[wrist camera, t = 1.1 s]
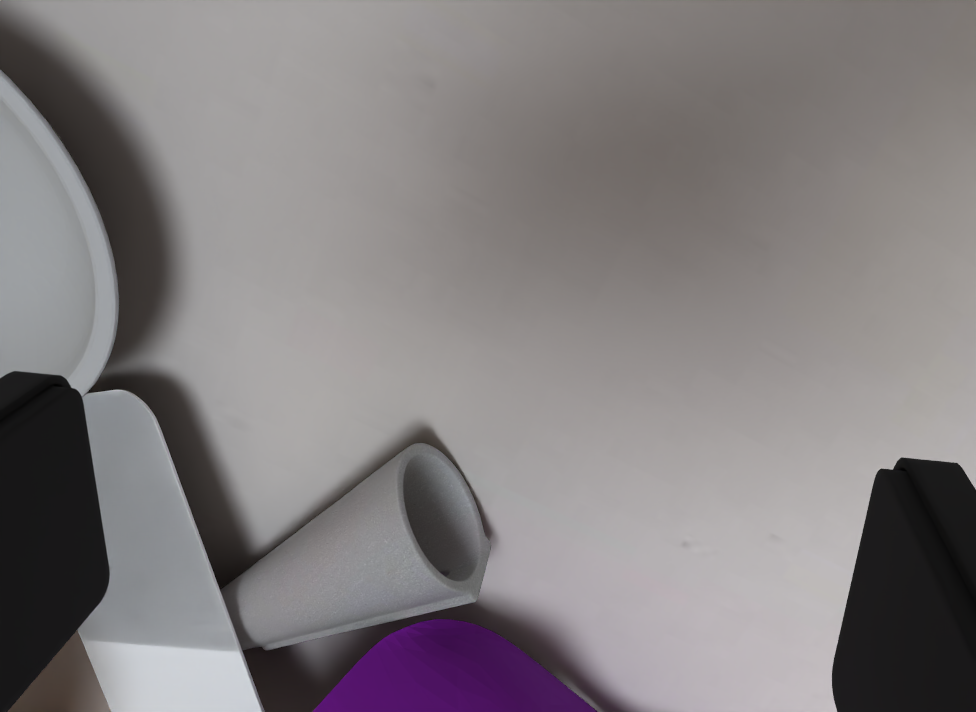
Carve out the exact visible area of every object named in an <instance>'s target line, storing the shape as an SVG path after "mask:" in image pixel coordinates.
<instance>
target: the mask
mask: <svg viewBox="0 0 976 712" xmlns="http://www.w3.org/2000/svg"><path fill="white" fill-rule="evenodd" d="M313 712H597V711H596V710H595V709H594V708H593V707H591V706H590V705H589V704H588V703H586V702H585V701H584V700H583V699H581V698H580V697H579V696H578V695H577V694H575V693H574V692H573V691H572V690H570V689H569V688H568V687H567V686H566V685H564V684H563V683H562V682H561V681H559V680H558V679H557V678H556V677H554V676H553V675H552V674H551V673H550V672H548V671H547V670H546V669H545V668H543V667H542V666H541V665H540V664H538V663H537V662H536V661H535V660H533V659H532V658H531V657H529V656H528V655H527V654H526V653H524V652H523V651H522V650H520V649H519V648H518V647H516V646H515V645H513V644H512V643H510V642H509V641H508V640H506V639H504V638H503V637H501V636H499V635H498V634H496V633H494V632H493V631H490V630H488V629H486V628H483V627H481V626H478V625H476V624H472V623H468V622H465V621H458V620H450V619H435V620H429V621H423V622H419V623H416V624H413V625H410V626H407V627H405V628H403V629H400V630H398V631H396V632H393V633H391V634H390V635H388V636H386V637H385V638H383V639H382V640H381V641H379V642H378V643H377V644H376V645H375V646H373V647H372V648H371V649H370V650H369V651H368V652H367V653H366V654H365V655H364V656H363V657H362V658H361V659H360V660H359V661H358V662H357V663H356V664H355V665H354V667H353V668H352V669H351V670H350V671H349V672H348V673H347V674H346V675H345V676H344V677H343V678H342V680H341V681H340V682H339V683H338V684H337V685H336V686H335V687H334V688H333V690H332V691H331V692H330V693H329V694H328V695H327V696H326V697H325V698H324V699H323V701H322V702H321V703H320V704H319V705H318V706H317V707H316V708H315V709H314V710H313Z"/></svg>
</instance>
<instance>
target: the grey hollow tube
mask: <svg viewBox="0 0 976 712" xmlns="http://www.w3.org/2000/svg"><path fill="white" fill-rule="evenodd" d="M490 548H491V543H490V541H489V540H488V539H487V537H486V536H485V533H484V529H483V525H482V521H481V518H480V514H479V511H478V508H477V505H476V503H475V500H474V498H473V496H472V493H471V491H470V489H469V487H468V485H467V484H466V482H465V480H464V478H463V477H462V475H461V474H460V472H459V471H458V469H457V468H456V467H455V466H454V464H453V463H452V462H451V461H450V460H449V459H448V458H447V457H446V456H445V455H444V454H443V453H442V452H440V451H439V450H438V449H436V448H434V447H433V446H430V445H428V444H424V443H416V444H412V445H410V446H409V447H407V448H406V449H404V450H403V451H402V452H400V453H399V454H398V455H397V456H395V457H394V458H393V459H391V460H390V461H389V462H387V463H386V464H385V465H383V466H382V467H381V468H379V469H378V470H377V471H375V472H374V473H373V474H371V475H370V476H369V477H367V478H366V479H365V480H364V481H362V482H361V483H360V484H359V485H357V486H356V487H355V488H354V489H352V490H351V491H350V492H349V493H347V494H346V495H345V496H343V497H342V498H341V499H340V500H338V501H337V502H336V503H334V504H333V505H332V506H330V507H329V508H328V509H326V510H325V511H323V512H322V513H321V514H319V515H318V516H317V517H315V518H314V519H313V520H312V521H310V522H309V523H308V524H306V525H305V526H304V527H302V528H301V529H300V530H299V531H297V532H296V533H295V534H293V535H292V536H291V537H289V538H288V539H287V540H286V541H284V542H283V543H282V544H280V545H279V546H278V547H276V548H275V549H274V550H272V551H271V552H270V553H268V554H267V555H266V556H265V557H263V558H262V559H261V560H259V561H258V562H257V563H255V564H254V565H253V566H251V567H250V568H249V569H247V570H246V571H245V572H244V573H242V574H241V575H240V576H238V577H237V578H236V579H234V580H233V581H232V582H230V583H229V584H228V585H226V586H225V587H224V588H222V589H221V590H220V592H221V594H222V597H223V600H224V603H225V605H226V608H227V611H228V614H229V616H230V619H231V622H232V624H233V627H234V630H235V633H236V635H237V638H238V641H239V644H240V646H241V649H242V650H246V649H250V648H254V647H260V646H261V647H263V648H264V649H265V650H270V649H275V648H279V647H283V646H288V645H292V644H296V643H301V642H305V641H309V640H313V639H318V638H322V637H326V636H331V635H335V634H339V633H344V632H348V631H352V630H357V629H361V628H365V627H370V626H374V625H378V624H382V623H387V622H391V621H395V620H400V619H404V618H408V617H413V616H417V615H421V614H426V613H430V612H434V611H439V610H443V609H447V608H452V607H456V606H460V605H465V604H469V603H473V602H476V600H477V598H478V595H479V592H480V588H481V584H482V581H483V577H484V573H485V569H486V565H487V561H488V557H489V553H490Z"/></svg>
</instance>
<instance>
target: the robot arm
mask: <svg viewBox="0 0 976 712" xmlns="http://www.w3.org/2000/svg"><path fill="white" fill-rule="evenodd" d="M109 578H110V570H109V563H108V556H107V550H106V544H105V537H104V531H103V525H102V518H101V512H100V505H99V499H98V493H97V486H96V480H95V474H94V467H93V461H92V454H91V448H90V442H89V435H88V429H87V422H86V416H85V410H84V403H83V399H82V396H81V394H80V393H79V391H78V390H76V389H75V388H71V386H70V384H69V382H68V381H67V379H66V378H64V377H63V376H61V375H52V374H41V373H31V372H21V371H13V372H10V373H8V374H6V375H5V376H3V377H1V378H0V712H7V711H8V710H9V709H10V708H11V707H12V705H13V704H14V703H15V702H16V701H17V700H18V698H19V697H20V696H21V695H22V694H23V693H24V691H25V690H26V689H27V688H28V687H29V686H30V684H31V683H32V682H33V681H34V680H35V679H36V677H37V676H38V675H39V674H40V673H41V671H42V670H43V669H44V668H45V667H46V666H47V664H48V663H49V662H50V661H51V660H52V659H53V657H54V656H55V655H56V654H57V653H58V652H59V650H60V649H61V648H62V647H63V646H64V645H65V643H66V642H67V641H68V640H69V639H70V637H71V636H72V635H73V634H74V633H75V632H76V630H77V629H78V628H79V627H80V626H81V625H82V623H83V622H84V621H85V620H86V619H87V618H88V616H89V615H90V614H91V613H92V612H93V611H94V609H95V608H96V607H97V606H98V605H99V603H100V602H101V601H102V599H103V598H104V596H105V593H106V591H107V588H108V584H109ZM832 688H833V696H834V701H835V704H836V708H837V712H976V489H975V488H974V486H973V485H972V483H971V482H970V480H969V478H968V477H967V475H966V474H965V472H964V470H963V469H962V467H961V466H960V465H959V464H958V463H951V462H941V461H931V460H920V459H910V458H900V459H899V460H898V461H897V463H896V465H895V467H894V469H893V470H890V469H880V470H879V471H878V472H877V474H876V477H875V480H874V484H873V488H872V493H871V497H870V501H869V506H868V510H867V515H866V519H865V524H864V528H863V533H862V537H861V542H860V546H859V550H858V555H857V559H856V564H855V568H854V573H853V577H852V582H851V586H850V591H849V595H848V599H847V604H846V608H845V613H844V617H843V622H842V626H841V631H840V635H839V640H838V644H837V648H836V653H835V657H834V662H833V670H832Z"/></svg>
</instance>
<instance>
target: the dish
mask: <svg viewBox="0 0 976 712" xmlns="http://www.w3.org/2000/svg"><path fill="white" fill-rule="evenodd" d="M118 316H119V293H118V279H117V273H116V268H115V262H114V257H113V253H112V249H111V245H110V242H109V238H108V235H107V232H106V229H105V226H104V223H103V220H102V217H101V215H100V212H99V210H98V208H97V205H96V203H95V201H94V198H93V196H92V194H91V192H90V190H89V188H88V186H87V184H86V182H85V180H84V178H83V176H82V174H81V173H80V171H79V169H78V167H77V165H76V164H75V162H74V160H73V159H72V157H71V156H70V154H69V152H68V151H67V149H66V147H65V146H64V144H63V143H62V141H61V140H60V139H59V137H58V136H57V134H56V133H55V132H54V130H53V129H52V127H51V126H50V125H49V123H48V122H47V121H46V119H45V118H44V117H43V116H42V114H41V113H40V112H39V111H38V109H37V108H36V107H35V106H34V105H33V103H32V102H31V101H30V100H29V99H28V98H27V96H26V95H25V94H24V93H23V92H22V91H21V90H20V89H19V88H18V87H17V86H16V85H15V83H14V82H13V81H12V80H11V79H10V78H9V77H8V76H7V75H6V74H5V73H4V72H3V71H1V70H0V378H1V377H3V376H5V375H6V374H8V373H10V372H13V371H21V372H31V373H41V374H52V375H61V376H63V377H64V378H66V379H67V381H68V382H69V384H70V386H71V388H75V389H76V390H78V391H79V393H80V394H81V396H82V397H83V396H84V395H85V394H86V393H87V392H88V391H89V390H90V389H91V388H92V386H93V385H94V384H95V383H96V381H97V380H98V378H99V376H100V375H101V373H102V372H103V370H104V368H105V366H106V364H107V361H108V359H109V357H110V355H111V352H112V348H113V345H114V341H115V338H116V332H117V325H118Z"/></svg>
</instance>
